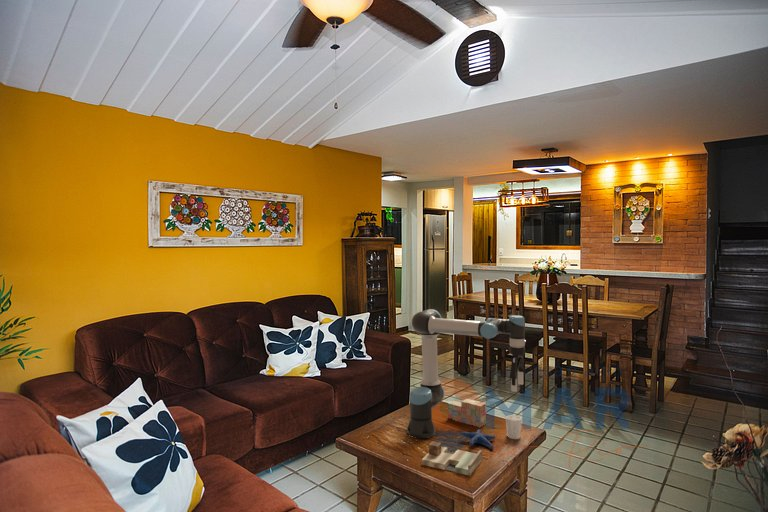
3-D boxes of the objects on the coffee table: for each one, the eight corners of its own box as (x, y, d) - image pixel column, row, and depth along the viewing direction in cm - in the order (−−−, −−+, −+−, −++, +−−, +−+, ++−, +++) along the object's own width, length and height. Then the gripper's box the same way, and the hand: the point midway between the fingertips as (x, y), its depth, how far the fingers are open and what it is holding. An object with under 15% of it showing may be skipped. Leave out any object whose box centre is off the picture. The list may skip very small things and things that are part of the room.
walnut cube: (428, 454, 216) (428, 444, 216) (432, 450, 220) (432, 441, 220) (437, 456, 214) (437, 446, 213) (441, 452, 217) (441, 442, 217)
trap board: (422, 464, 211) (421, 454, 211) (436, 450, 226) (436, 441, 225) (470, 475, 200) (470, 465, 199) (481, 460, 214) (481, 450, 214)
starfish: (479, 455, 220) (479, 444, 220) (454, 441, 236) (454, 431, 236) (507, 446, 229) (507, 436, 229) (481, 433, 245) (481, 424, 245)
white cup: (503, 434, 244) (503, 415, 244) (518, 433, 245) (518, 414, 245) (509, 440, 236) (508, 420, 236) (523, 439, 237) (523, 420, 237)
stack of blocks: (447, 419, 267) (447, 398, 267) (453, 416, 272) (453, 395, 272) (480, 428, 253) (480, 405, 253) (486, 424, 258) (485, 402, 258)
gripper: (518, 351, 221) (519, 395, 221) (530, 342, 242) (530, 382, 243) (503, 350, 224) (503, 393, 225) (515, 341, 246) (516, 380, 246)
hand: (517, 387), depth 234 cm, fingers open, 13 cm apart
